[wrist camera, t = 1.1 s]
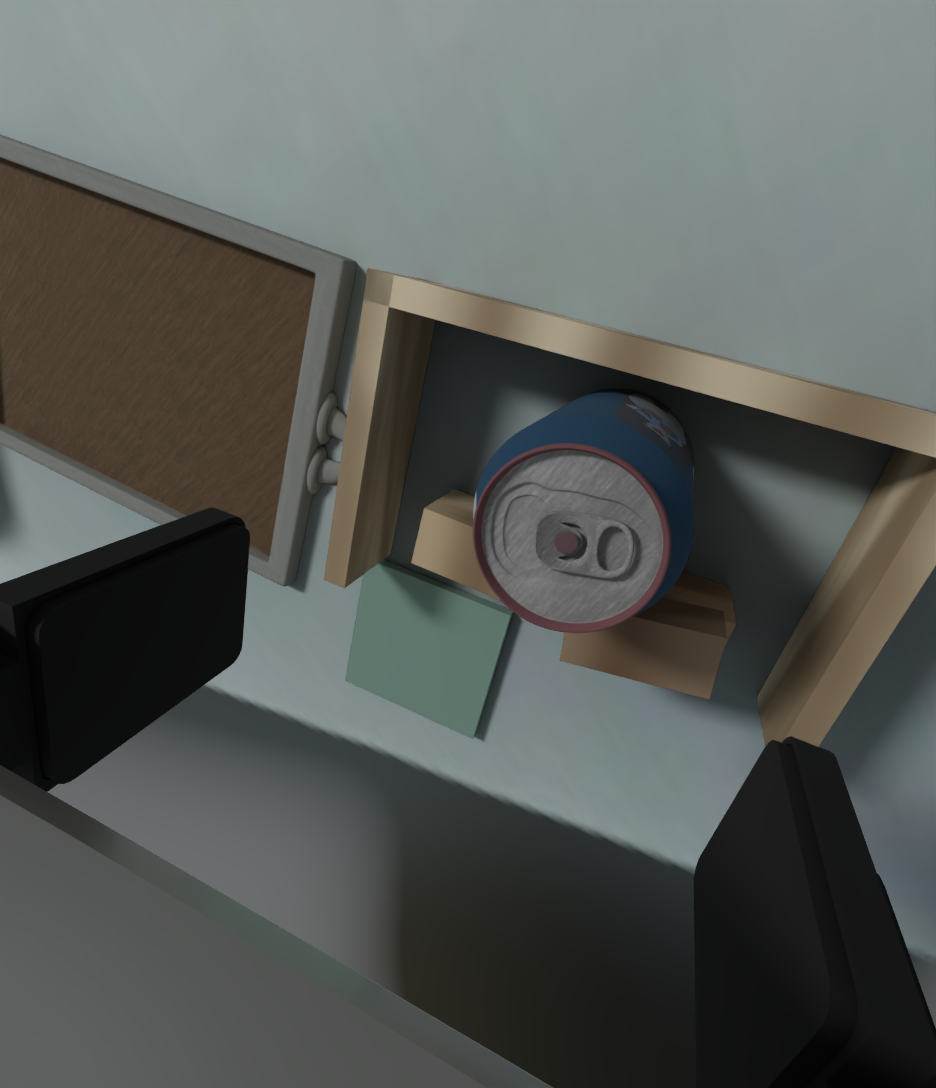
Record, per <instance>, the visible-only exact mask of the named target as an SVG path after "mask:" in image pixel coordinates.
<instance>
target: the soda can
mask: <svg viewBox="0 0 936 1088" xmlns="http://www.w3.org/2000/svg"><path fill="white" fill-rule="evenodd" d="M693 536H694V459H693V451H692V447H691V443H690V440H689V437H688V435H687V433H686V431H685V429H684V427H683V426H682V424H681V423H680V421H679V420H678V418H677V417H676V416H675V415H674V414H673V413H672V412H671V411H670V410H669V409H668V408H667V407H666V406H664V405H663V404H662V403H660V402H659V401H657V400H655V399H653V398H651V397H649V396H647V395H645V394H642V393H639V392H635V391H631V390H624V389H608V390H601V391H596V392H592V393H589V394H586V395H584V396H582V397H579V398H578V399H576V400H574V401H572V402H570V403H569V404H567V405H565V406H563V407H562V408H560V409H558V410H556V411H555V412H553V413H551V414H549V415H548V416H546V417H544V418H542V419H540V420H539V421H537V422H535V423H533V424H532V425H530V426H528V427H526V428H525V429H523V430H521V431H520V432H518V433H517V434H515V435H514V436H512V437H511V438H510V439H509V440H507V441H506V442H505V443H504V444H503V445H502V446H501V447H500V448H499V449H498V450H497V452H496V453H495V454H494V455H493V457H492V458H491V459H490V461H489V463H488V464H487V466H486V468H485V469H484V471H483V473H482V476H481V478H480V481H479V483H478V486H477V490H476V494H475V499H474V507H473V546H474V551H475V556H476V559H477V563H478V565H479V568H480V570H481V572H482V575H483V577H484V578H485V580H486V582H487V583H488V585H489V587H490V588H491V589H492V591H493V592H494V593H495V595H496V596H497V597H498V598H499V599H500V600H501V601H502V602H503V603H504V604H505V605H506V606H507V607H508V608H509V609H510V610H512V611H513V612H514V613H516V614H517V615H519V616H520V617H521V618H523V619H525V620H527V621H529V622H531V623H533V624H535V625H538V626H540V627H543V628H546V629H550V630H554V631H560V632H568V633H587V632H595V631H600V630H604V629H607V628H610V627H613V626H616V625H618V624H620V623H622V622H624V621H626V620H628V619H629V618H631V617H633V616H635V615H637V614H639V613H641V612H643V611H644V610H646V609H648V608H649V607H651V606H652V605H653V604H655V603H656V602H657V601H658V600H660V599H661V598H662V597H663V596H664V595H665V594H666V593H667V592H668V591H669V590H670V589H671V587H672V586H673V585H674V584H675V582H676V581H677V579H678V578H679V576H680V575H681V573H682V571H683V569H684V567H685V565H686V563H687V560H688V557H689V554H690V551H691V547H692V542H693Z"/></svg>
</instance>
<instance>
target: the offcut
mask: <svg viewBox="0 0 936 1088" xmlns="http://www.w3.org/2000/svg"><path fill="white" fill-rule="evenodd" d="M474 499H475V496H472V495H469V494H467V493H464V492H461V491H459V490H456V489H453V490H451V491H450V492H448V493H447V494H445V495H444V496H442V497H441V498H439V499H437V500H436V501H434V502H433V503H431V504H430V505H428V506H427V507H425V508H424V511H423V515H422V519H421V523H420V527H419V532H418V536H417V540H416V544H415V549H414V553H413V557H412V561H411V563H413V564H415V565H417V566H420V567H422V568H425V569H427V570H429V571H432V572H434V573H437V574H439V575H441V576H444V577H446V578H449V579H451V580H453V581H456V582H458V583H461V584H463V585H465V586H468V587H470V588H473V589H475V590H477V591H480V592H482V593H485V594H487V595H489V596H492V597H494V598H497V599H499V598H498V597H497V596H496V595H495V593H494V592H493V591H492V589H491V588H490V587H489V585H488V583H487V582H486V580H485V578H484V577H483V575H482V572H481V570H480V568H479V565H478V563H477V559H476V556H475V551H474V546H473V507H474ZM499 600H500V599H499Z"/></svg>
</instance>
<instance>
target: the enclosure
mask: <svg viewBox="0 0 936 1088" xmlns="http://www.w3.org/2000/svg"><path fill="white" fill-rule="evenodd" d="M436 320H439V321H442V322H446V323H450V324H453V325H457V326H460V327H464V328H468V329H471V330H475V331H479V332H482V333H486V334H489V335H493V336H497V337H500V338H504V339H508V340H511V341H515V342H518V343H522V344H526V345H529V346H533V347H537V348H540V349H544V350H547V351H551V352H555V353H558V354H562V355H566V356H569V357H573V358H576V359H580V360H584V361H587V362H591V363H594V364H598V365H602V366H605V367H609V368H613V369H616V370H620V371H623V372H627V373H631V374H634V375H638V376H642V377H645V378H649V379H652V380H656V381H660V382H663V383H667V384H671V385H674V386H678V387H681V388H685V389H689V390H692V391H696V392H700V393H703V394H707V395H710V396H714V397H718V398H721V399H725V400H729V401H732V402H736V403H739V404H743V405H747V406H750V407H754V408H758V409H761V410H765V411H768V412H772V413H776V414H779V415H783V416H786V417H790V418H794V419H797V420H801V421H805V422H808V423H812V424H815V425H819V426H823V427H826V428H830V429H834V430H837V431H841V432H844V433H848V434H852V435H855V436H859V437H863V438H866V439H870V440H873V441H877V442H881V443H884V444H888V445H892V446H895V447H897V448H896V450H895V451H894V453H893V455H892V457H891V458H890V460H889V462H888V464H887V466H886V467H885V469H884V471H883V473H882V475H881V476H880V478H879V480H878V482H877V483H876V485H875V487H874V489H873V491H872V492H871V494H870V496H869V498H868V500H867V501H866V503H865V505H864V507H863V509H862V510H861V512H860V514H859V516H858V517H857V519H856V521H855V523H854V525H853V526H852V528H851V530H850V532H849V534H848V535H847V537H846V539H845V541H844V542H843V544H842V546H841V548H840V550H839V551H838V553H837V555H836V557H835V559H834V560H833V562H832V564H831V566H830V567H829V569H828V571H827V573H826V575H825V576H824V578H823V580H822V582H821V584H820V585H819V587H818V589H817V591H816V592H815V594H814V596H813V598H812V600H811V601H810V603H809V605H808V607H807V609H806V610H805V612H804V614H803V616H802V617H801V619H800V621H799V623H798V625H797V626H796V628H795V630H794V632H793V634H792V635H791V637H790V639H789V641H788V642H787V644H786V646H785V648H784V650H783V651H782V653H781V655H780V657H779V659H778V660H777V662H776V664H775V666H774V667H773V669H772V671H771V673H770V675H769V676H768V678H767V680H766V682H765V684H764V685H763V687H762V689H761V691H760V692H759V694H758V696H757V702H758V708H759V713H760V719H761V724H762V730H763V735H764V741H765V747H766V745H767V744H768V743H769V742H770V741H771V740H776V741H778V742H781V743H782V742H783V740H785V739H786V738H787V737H790V736H792V737H795V738H797V739H800V740H802V741H805V742H807V743H810V744H812V745H815V746H817V747H819V745H820V743H821V742H822V740H823V739H824V737H825V736H826V734H827V733H828V731H829V730H830V728H831V726H832V725H833V723H834V722H835V720H836V719H837V717H838V716H839V714H840V713H841V711H842V709H843V708H844V706H845V705H846V703H847V702H848V700H849V699H850V697H851V696H852V694H853V692H854V691H855V689H856V688H857V686H858V685H859V683H860V682H861V680H862V679H863V677H864V675H865V674H866V672H867V671H868V669H869V668H870V666H871V665H872V663H873V662H874V660H875V658H876V657H877V655H878V654H879V652H880V651H881V649H882V648H883V646H884V645H885V643H886V642H887V640H888V638H889V637H890V635H891V634H892V632H893V631H894V629H895V628H896V626H897V625H898V623H899V621H900V620H901V618H902V617H903V615H904V614H905V612H906V611H907V609H908V608H909V606H910V604H911V603H912V601H913V600H914V598H915V597H916V595H917V594H918V592H919V591H920V589H921V587H922V586H923V584H924V583H925V581H926V580H927V578H928V577H929V575H930V574H931V572H932V570H933V569H934V567H935V566H936V412H932V411H928V410H924V409H920V408H916V407H913V406H909V405H905V404H901V403H897V402H893V401H889V400H886V399H882V398H878V397H874V396H870V395H866V394H862V393H859V392H855V391H851V390H847V389H843V388H839V387H835V386H832V385H828V384H824V383H820V382H816V381H812V380H808V379H805V378H801V377H797V376H793V375H789V374H785V373H781V372H778V371H774V370H770V369H766V368H762V367H758V366H754V365H751V364H747V363H743V362H739V361H735V360H731V359H727V358H724V357H720V356H716V355H712V354H708V353H704V352H700V351H697V350H693V349H689V348H685V347H681V346H677V345H673V344H670V343H666V342H662V341H658V340H654V339H650V338H646V337H643V336H639V335H635V334H631V333H627V332H623V331H619V330H616V329H612V328H608V327H604V326H600V325H596V324H592V323H589V322H585V321H581V320H577V319H573V318H569V317H565V316H562V315H558V314H554V313H550V312H546V311H542V310H538V309H535V308H531V307H527V306H523V305H519V304H515V303H511V302H508V301H504V300H500V299H496V298H492V297H488V296H484V295H481V294H477V293H473V292H469V291H465V290H461V289H457V288H454V287H450V286H446V285H442V284H438V283H434V282H430V281H427V280H423V279H419V278H414V277H409V276H404V275H399V274H394V273H390V272H385V271H380V270H375V269H370V268H368V269H367V276H366V283H365V290H364V297H363V305H362V312H361V319H360V326H359V333H358V340H357V348H356V355H355V362H354V369H353V376H352V383H351V390H350V398H349V405H348V412H347V419H346V426H345V433H344V441H343V448H342V455H341V462H340V469H339V476H338V483H337V491H336V498H335V505H334V512H333V519H332V526H331V534H330V541H329V548H328V555H327V562H326V569H325V576H324V580H326V581H328V582H331V583H333V584H335V585H338V586H340V587H343V588H345V587H347V586H348V585H350V584H351V583H352V582H354V581H355V580H356V579H358V578H359V577H361V576H362V575H363V574H365V573H366V572H367V571H369V570H370V569H371V568H373V567H374V566H376V565H377V564H378V563H380V562H381V561H382V560H384V559H385V558H387V557H388V556H389V555H391V550H392V545H393V540H394V535H395V530H396V524H397V519H398V514H399V509H400V503H401V498H402V493H403V488H404V483H405V477H406V472H407V467H408V462H409V457H410V451H411V446H412V441H413V436H414V431H415V425H416V420H417V415H418V410H419V404H420V399H421V394H422V389H423V384H424V378H425V373H426V368H427V363H428V358H429V352H430V347H431V342H432V337H433V331H434V326H435V321H436Z"/></svg>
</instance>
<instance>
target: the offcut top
mask: <svg viewBox="0 0 936 1088" xmlns="http://www.w3.org/2000/svg"><path fill="white" fill-rule="evenodd" d="M726 639H727V636H726V627H725V619H724V611H721V610H716V609H711V608H707V607H702V606H697V605H693V604H688V603H684V602H679V601H674V600H670V599H665V598H661V599H660V600H658V601H657V602H656V603H655V604H653V605H652V606H651V607H649V608H648V609H646V610H644V611H643V612H641V613H639V614H637V615H635V616H633V617H631V618H629V619H628V620H626V621H624V622H622V623H620V624H618V625H616V626H613V627H610V628H607V629H604V630H600V631H595V632H587V633H568V632H564V638H563V644H562V650H561V657H560V661H563V662H567V663H571V664H575V665H579V666H582V667H586V668H590V669H594V670H598V671H602V672H605V673H609V674H613V675H617V676H621V677H624V678H628V679H632V680H636V681H640V682H644V683H647V684H651V685H655V686H659V687H663V688H666V689H670V690H674V691H678V692H682V693H686V694H689V695H693V696H697V697H701V698H705V699H710V695H711V692H712V688H713V685H714V681H715V678H716V674H717V671H718V667H719V664H720V660H721V657H722V653H723V650H724V646H725V643H726Z"/></svg>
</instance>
